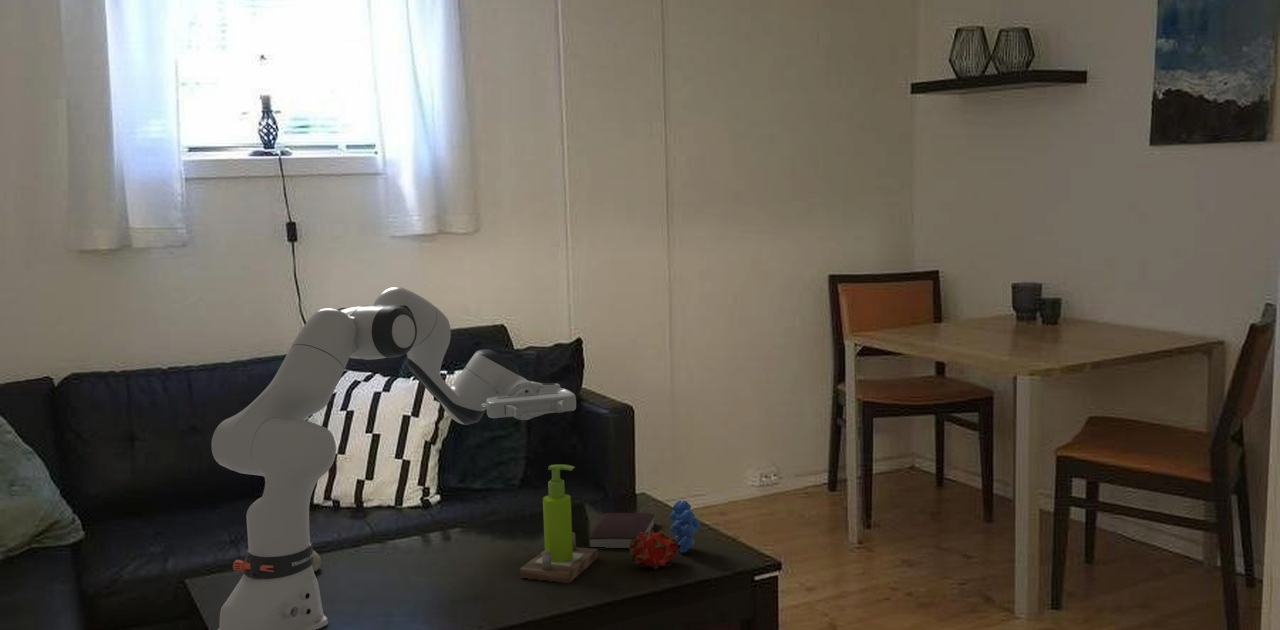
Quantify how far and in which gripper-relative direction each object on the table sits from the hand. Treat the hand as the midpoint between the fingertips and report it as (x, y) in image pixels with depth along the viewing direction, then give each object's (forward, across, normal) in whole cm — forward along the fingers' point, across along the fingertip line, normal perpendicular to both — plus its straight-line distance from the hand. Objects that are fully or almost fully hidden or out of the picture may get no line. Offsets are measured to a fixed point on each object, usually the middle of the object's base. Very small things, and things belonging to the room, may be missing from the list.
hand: (539, 410), depth 246 cm
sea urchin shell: (-9, -52, +32) cm, 61 cm away
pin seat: (+12, 0, +32) cm, 34 cm away
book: (-3, +20, +32) cm, 38 cm away
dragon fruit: (+19, +19, +32) cm, 42 cm away
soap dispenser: (+12, 0, +30) cm, 32 cm away
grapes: (+14, +29, +32) cm, 45 cm away
